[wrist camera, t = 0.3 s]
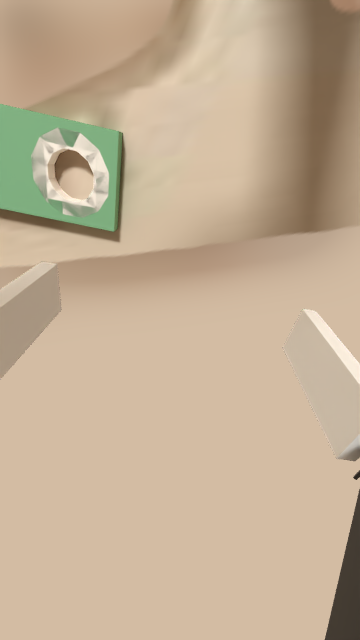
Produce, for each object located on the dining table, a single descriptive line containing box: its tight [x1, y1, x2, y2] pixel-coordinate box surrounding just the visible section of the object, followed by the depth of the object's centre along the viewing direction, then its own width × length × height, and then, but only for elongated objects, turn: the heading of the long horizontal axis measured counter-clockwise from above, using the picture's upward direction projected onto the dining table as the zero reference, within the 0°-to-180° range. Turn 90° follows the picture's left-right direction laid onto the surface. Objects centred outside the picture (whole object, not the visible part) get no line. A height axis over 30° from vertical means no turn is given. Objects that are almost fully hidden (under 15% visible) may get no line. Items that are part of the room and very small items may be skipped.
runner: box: [0, 104, 123, 232], centre depth 33 cm, size 12×28×2 cm, turn 79°
